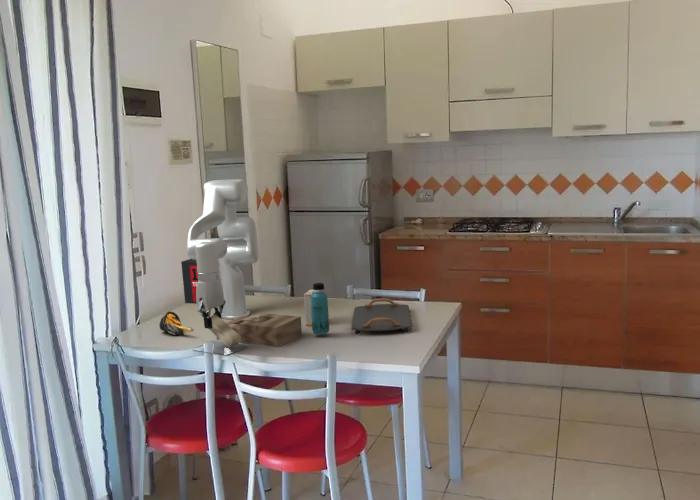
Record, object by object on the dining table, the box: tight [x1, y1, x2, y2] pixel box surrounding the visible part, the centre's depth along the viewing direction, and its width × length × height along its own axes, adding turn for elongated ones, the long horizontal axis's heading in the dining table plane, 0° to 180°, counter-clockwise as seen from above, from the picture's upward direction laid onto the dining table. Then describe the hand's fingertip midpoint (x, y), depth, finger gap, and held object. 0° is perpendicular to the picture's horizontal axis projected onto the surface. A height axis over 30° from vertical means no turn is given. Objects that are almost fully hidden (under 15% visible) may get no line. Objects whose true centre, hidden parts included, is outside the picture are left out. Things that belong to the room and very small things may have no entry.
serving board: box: [351, 297, 413, 335], centre depth 259 cm, size 39×23×6 cm, turn 177°
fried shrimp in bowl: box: [159, 311, 194, 336], centre depth 257 cm, size 9×11×18 cm
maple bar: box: [208, 315, 241, 348], centre depth 233 cm, size 13×5×4 cm
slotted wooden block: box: [216, 312, 303, 348], centre depth 247 cm, size 28×16×7 cm, turn 61°
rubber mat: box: [195, 340, 248, 356], centre depth 235 cm, size 16×11×1 cm
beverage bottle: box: [311, 282, 330, 335], centre depth 243 cm, size 6×7×20 cm
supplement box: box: [303, 289, 321, 327], centre depth 261 cm, size 8×5×13 cm, turn 168°
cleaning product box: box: [180, 258, 221, 305], centre depth 310 cm, size 16×9×20 cm, turn 69°
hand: (213, 325), depth 235 cm, fingers closed on maple bar, 4 cm apart
